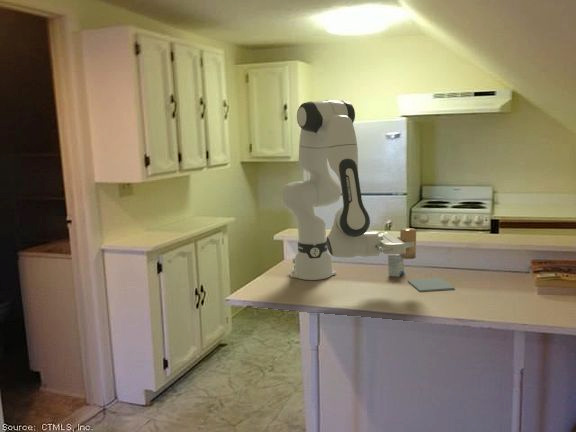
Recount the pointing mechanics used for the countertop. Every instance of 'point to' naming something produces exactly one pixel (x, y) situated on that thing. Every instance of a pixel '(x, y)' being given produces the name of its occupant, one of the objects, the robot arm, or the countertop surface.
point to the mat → (430, 284)
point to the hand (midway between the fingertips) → (410, 241)
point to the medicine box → (395, 265)
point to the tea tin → (406, 236)
